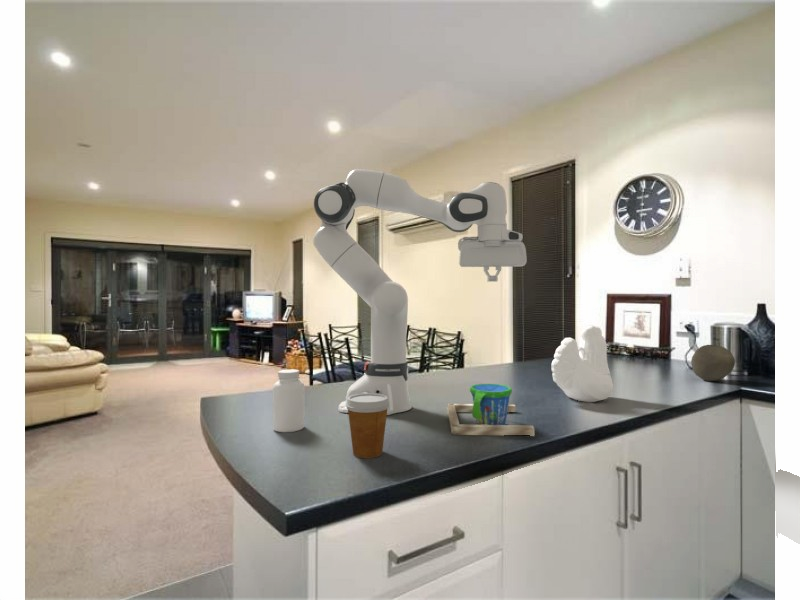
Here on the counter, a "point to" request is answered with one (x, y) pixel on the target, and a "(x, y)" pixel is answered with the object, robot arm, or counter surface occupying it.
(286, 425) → the pill bottle
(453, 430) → the wooden frame
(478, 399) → the snack cup
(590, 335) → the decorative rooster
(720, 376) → the cantaloupe
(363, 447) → the disposable coffee cup
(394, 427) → the counter surface
